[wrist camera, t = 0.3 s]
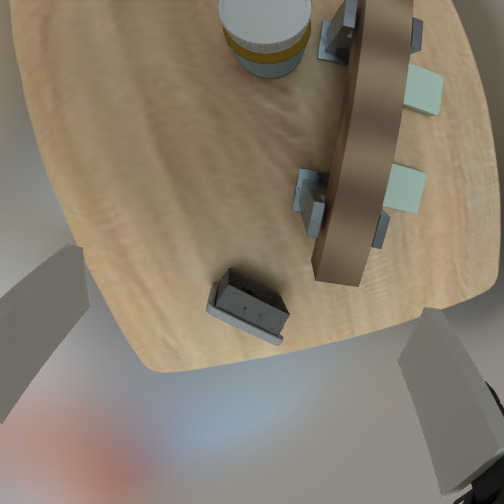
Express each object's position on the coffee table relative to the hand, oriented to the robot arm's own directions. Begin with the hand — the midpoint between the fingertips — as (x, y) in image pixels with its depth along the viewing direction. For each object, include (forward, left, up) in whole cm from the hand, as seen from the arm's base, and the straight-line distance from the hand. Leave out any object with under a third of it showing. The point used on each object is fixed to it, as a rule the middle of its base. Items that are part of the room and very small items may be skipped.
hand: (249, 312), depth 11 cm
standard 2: (-17, +7, -26) cm, 32 cm away
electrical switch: (+15, 0, -27) cm, 30 cm away
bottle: (-15, -2, -27) cm, 30 cm away
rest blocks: (-8, +15, -26) cm, 32 cm away
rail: (-8, +7, -18) cm, 21 cm away
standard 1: (+1, +7, -26) cm, 27 cm away
